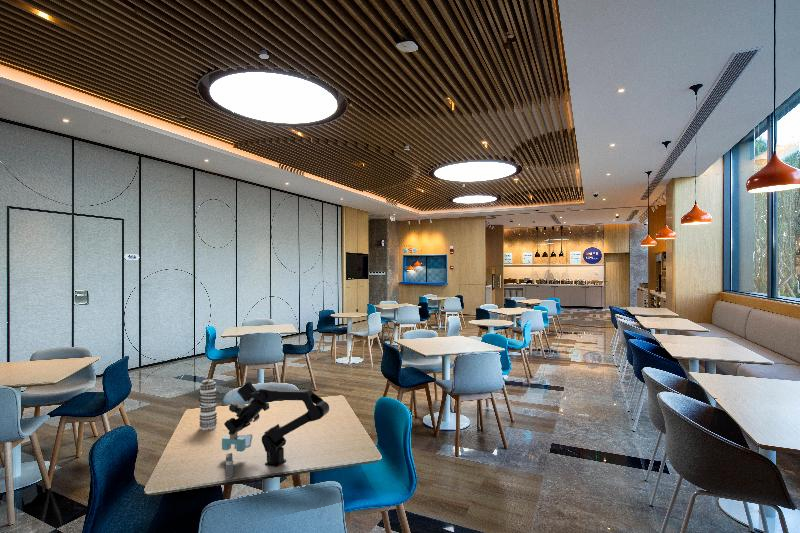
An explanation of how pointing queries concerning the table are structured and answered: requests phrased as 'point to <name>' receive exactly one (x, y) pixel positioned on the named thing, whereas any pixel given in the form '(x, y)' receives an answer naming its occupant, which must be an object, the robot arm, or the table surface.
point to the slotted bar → (229, 465)
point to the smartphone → (246, 440)
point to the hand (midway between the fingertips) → (230, 433)
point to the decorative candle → (208, 404)
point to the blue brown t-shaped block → (233, 442)
